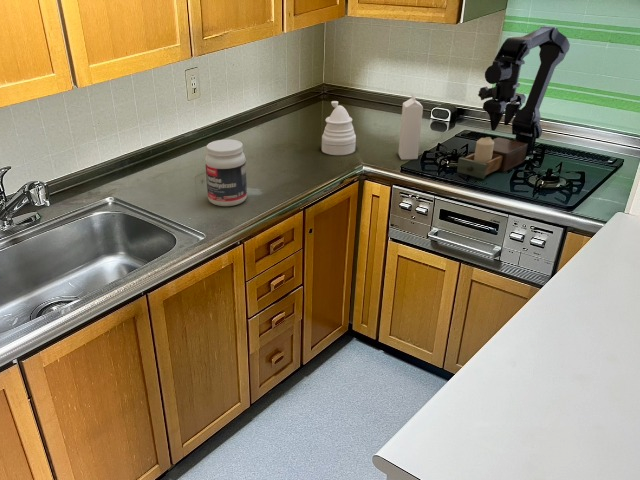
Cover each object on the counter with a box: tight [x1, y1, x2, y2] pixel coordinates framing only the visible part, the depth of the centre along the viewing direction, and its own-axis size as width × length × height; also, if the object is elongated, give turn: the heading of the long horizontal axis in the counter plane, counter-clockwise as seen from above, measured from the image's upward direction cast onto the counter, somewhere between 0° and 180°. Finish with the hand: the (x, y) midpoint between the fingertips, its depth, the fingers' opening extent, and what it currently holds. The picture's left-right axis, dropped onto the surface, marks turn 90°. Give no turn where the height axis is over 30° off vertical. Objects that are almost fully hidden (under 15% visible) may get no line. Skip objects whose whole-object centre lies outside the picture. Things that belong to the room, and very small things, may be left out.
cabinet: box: [492, 136, 528, 173], centre depth 218 cm, size 14×11×7 cm
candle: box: [474, 136, 494, 163], centre depth 210 cm, size 6×6×10 cm
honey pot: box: [321, 100, 357, 156], centre depth 236 cm, size 13×13×18 cm
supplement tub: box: [204, 138, 248, 207], centre depth 199 cm, size 13×13×18 cm
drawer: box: [456, 152, 504, 180], centre depth 211 cm, size 14×10×5 cm
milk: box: [398, 93, 424, 161], centre depth 224 cm, size 6×6×22 cm
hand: (499, 127), depth 212 cm, fingers open, 9 cm apart
